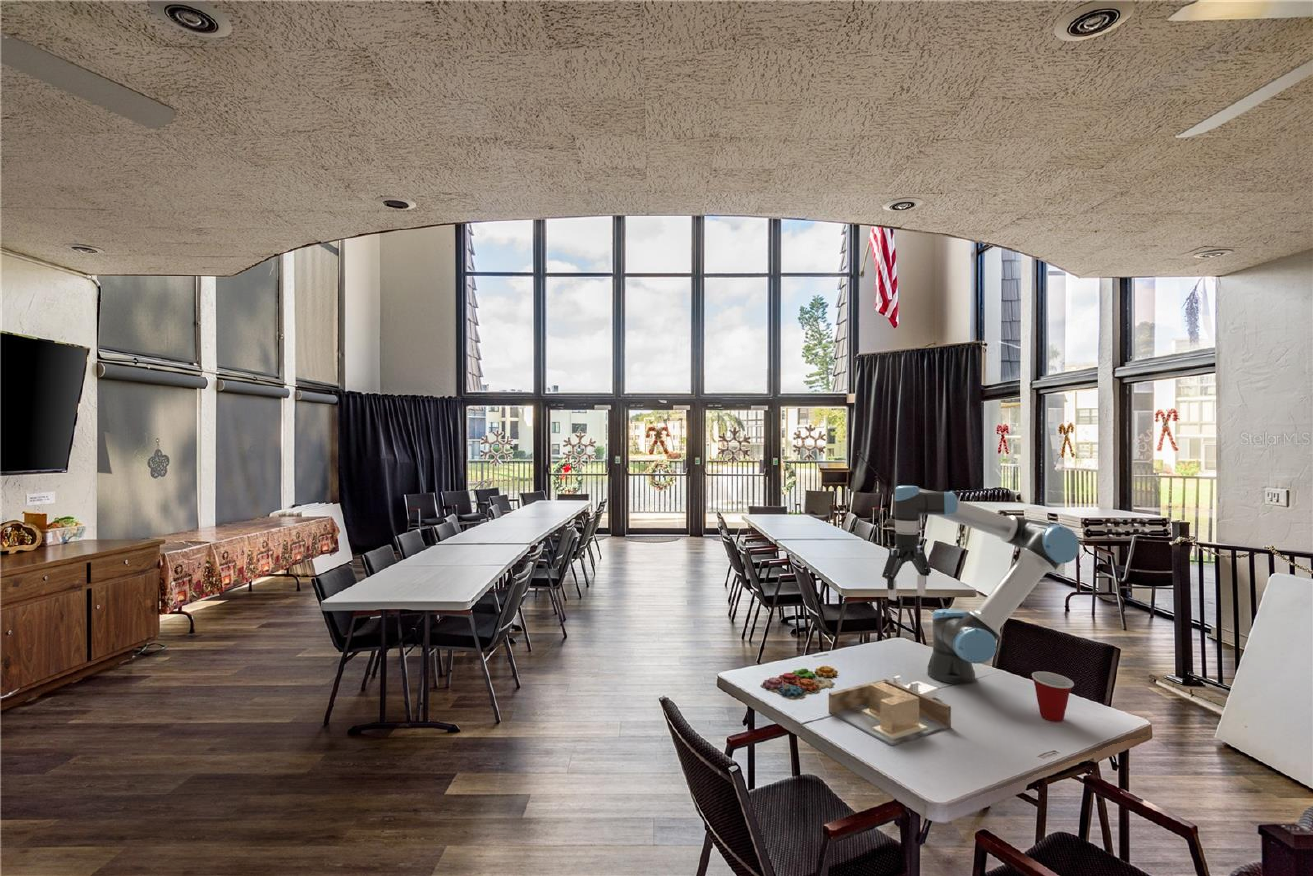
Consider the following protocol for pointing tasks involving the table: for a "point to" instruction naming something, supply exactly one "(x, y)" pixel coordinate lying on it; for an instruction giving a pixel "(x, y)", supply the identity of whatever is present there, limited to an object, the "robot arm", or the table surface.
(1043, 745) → the table surface
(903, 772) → the table surface
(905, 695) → the wooden l-shaped block
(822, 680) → the gear puzzle
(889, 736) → the pad
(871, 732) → the arena
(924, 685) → the bracket
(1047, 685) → the plastic cup
